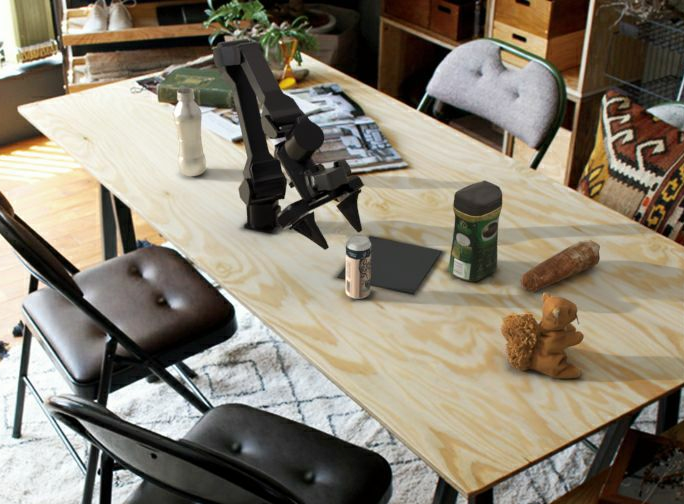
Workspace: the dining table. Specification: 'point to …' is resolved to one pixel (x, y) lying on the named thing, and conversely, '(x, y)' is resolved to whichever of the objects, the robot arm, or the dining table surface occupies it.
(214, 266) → the dining table surface
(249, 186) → the robot arm
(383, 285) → the mat
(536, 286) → the cassava root
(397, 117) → the dining table surface
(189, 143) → the plastic bottle
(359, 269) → the beer can
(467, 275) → the coffee jar
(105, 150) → the dining table surface
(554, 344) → the stuffed squirrel
